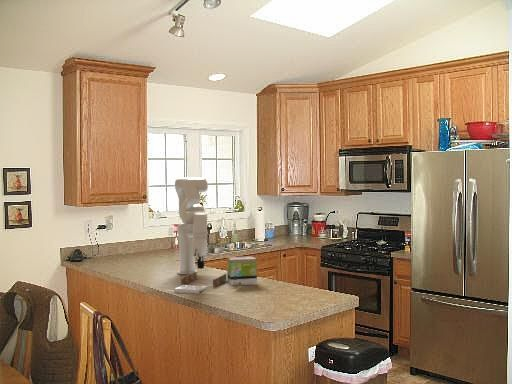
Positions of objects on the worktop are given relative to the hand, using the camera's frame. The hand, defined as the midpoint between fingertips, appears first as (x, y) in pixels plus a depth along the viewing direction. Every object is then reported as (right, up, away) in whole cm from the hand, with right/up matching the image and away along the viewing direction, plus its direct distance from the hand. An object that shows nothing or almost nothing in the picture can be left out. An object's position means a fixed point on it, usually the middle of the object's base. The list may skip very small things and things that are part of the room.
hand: (200, 268), depth 302 cm
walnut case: (+2, -10, +3) cm, 10 cm away
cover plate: (-4, -11, -13) cm, 17 cm away
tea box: (+23, -10, +4) cm, 25 cm away
